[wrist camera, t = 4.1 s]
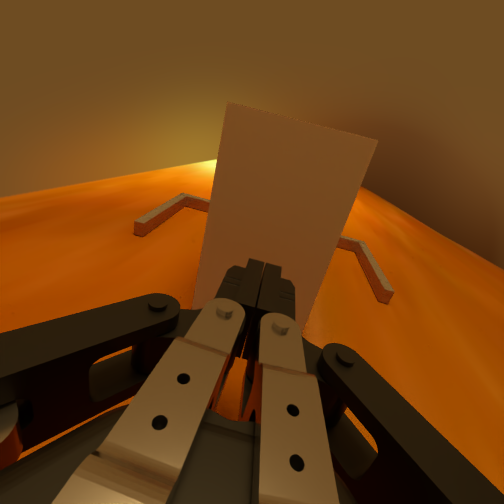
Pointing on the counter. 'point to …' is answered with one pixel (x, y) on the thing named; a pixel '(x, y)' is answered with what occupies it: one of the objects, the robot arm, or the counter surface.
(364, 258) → the metal staple
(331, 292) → the counter surface
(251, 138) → the carton
